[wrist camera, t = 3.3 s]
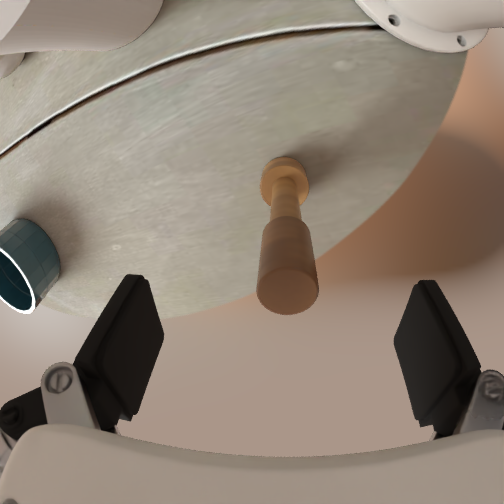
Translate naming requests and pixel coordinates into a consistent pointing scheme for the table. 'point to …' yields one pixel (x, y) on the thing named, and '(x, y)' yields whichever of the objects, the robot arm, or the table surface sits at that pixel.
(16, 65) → the mug
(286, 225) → the wooden peg with base
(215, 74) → the table surface
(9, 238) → the bowl
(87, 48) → the white patterned cylinder
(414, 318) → the robot arm
